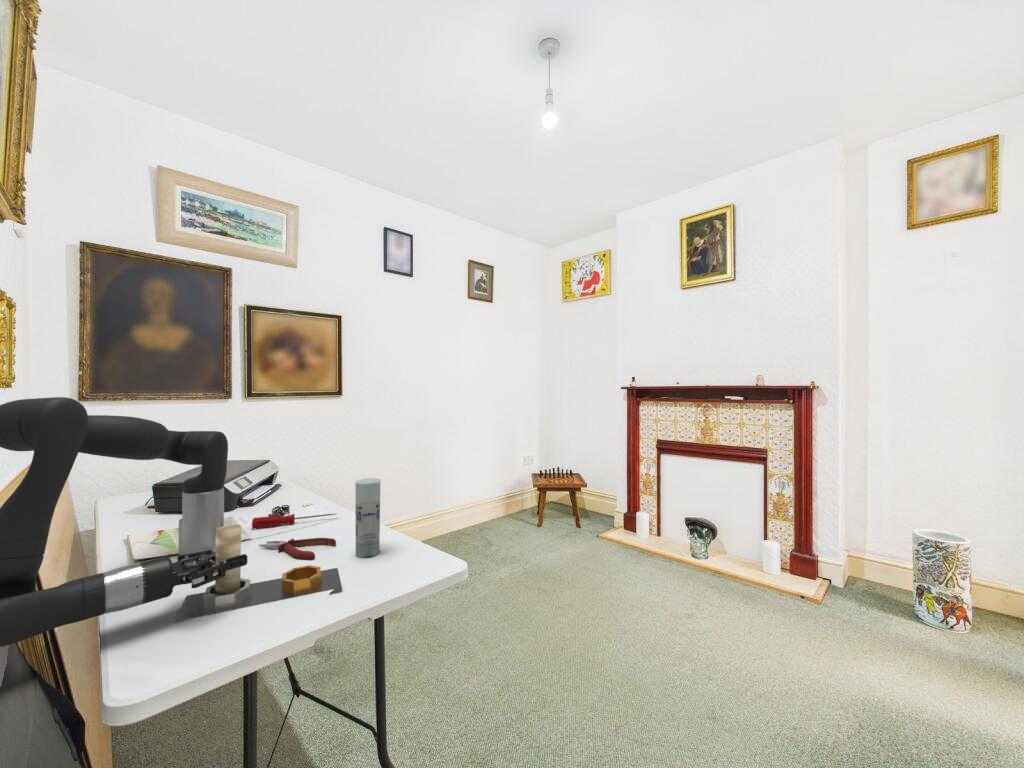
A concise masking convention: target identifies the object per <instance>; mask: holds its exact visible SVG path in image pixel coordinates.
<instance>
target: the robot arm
mask: <svg viewBox="0 0 1024 768" xmlns="http://www.w3.org/2000/svg"><path fill="white" fill-rule="evenodd" d="M0 448H2V449H4V450H8V451H13V452H32V451H33V455H32V459H31V463H30V465H29V467H28V470H27V472H26V473H25V475H24V477H23V478H22V480H21V482H20V483H19V484H18V486H17V487H16V488H15V490H14V491H13V492H12V494H11V495H10V496H9V497H7V499H6V500H5V502H3V504H2V505H1V506H0V646H1V647H0V648H3V647H6V646H10V645H13V644H17V643H19V642H22V641H25V640H27V639H30V638H33V637H35V636H38V635H41V634H44V633H47V632H50V631H52V630H54V629H56V628H57V629H58V628H59V627H62V626H66V625H70V624H75V623H78V622H82V621H87V620H89V619H92V618H95V617H98V616H99V617H100V616H102V615H106V614H111V613H115V612H120V611H124V610H129V609H132V608H134V607H138V606H142V605H146V604H147V603H153V602H155V601H158V600H162V599H165V598H168V597H170V596H171V595H172V594H173V591H174V590H173V589H174V588H175V587H176V586H181V585H190V584H191V588H192V589H197V588H199V587H202V586H204V585H207V584H208V583H212V582H215V580H217V579H219V578H222V577H224V576H225V573H226V572H227V570H231V569H234V568H238V567H244V566H246V565H247V564H248V555H247V554H246V553H243V554H241V555H239V556H235V557H232V558H228V559H223V560H218V561H216V529H217V528H220V527H223V526H225V481H226V477H227V470H228V469H227V467H228V455H229V454H228V453H229V442H228V439H227V436H226V434H225V433H224V432H221V431H215V430H189V431H178V430H169V429H168V428H167V427H166V426H165V425H164V424H162V423H160V422H157V421H155V420H150V419H147V418H141V417H134V416H128V415H127V416H126V415H125V416H124V415H109V414H108V415H105V414H104V415H102V414H101V415H99V414H98V415H97V414H94V415H93V414H92V415H91V414H90V415H89V414H88V412H87V410H86V408H85V406H84V405H83V404H82V403H81V402H79V401H78V400H76V399H73V398H71V397H66V396H65V397H64V396H59V397H58V396H56V397H55V396H54V397H53V396H52V397H39V398H37V397H36V398H24V399H16V400H12V401H7V402H6V403H2V404H0ZM79 453H80V454H86V455H91V456H98V457H106V458H113V459H114V458H115V459H121V460H134V461H136V460H137V461H152V460H165V461H166V460H167V461H169V462H174V463H178V464H181V465H182V464H183V465H188V466H201V470H200V473H199V474H198V475H195V476H192V477H190V478H187V479H185V480H184V481H183V482H182V489H181V490H182V491H181V492H182V493H181V494H182V495H181V496H182V497H181V498H182V500H181V502H182V504H181V505H182V509H181V510H182V511H181V514H182V515H181V517H182V518H180V519H179V520H178V555H177V561H175V562H174V561H173V562H172V559H171V558H170V556H168V555H166V556H161V557H157V558H152V559H148V560H145V561H140V562H136V563H135V562H134V563H132V564H127V565H123V566H120V567H117V568H116V567H115V568H114V569H111V570H108V571H104V572H100V573H96V574H92V575H88V576H84V577H80V578H76V579H73V580H69V581H67V582H64V583H61V584H60V585H58V586H54V587H49V588H46V589H41V590H36V587H37V580H38V579H37V578H38V573H39V570H40V569H41V566H42V564H43V560H44V557H45V553H46V547H47V545H48V544H47V542H48V538H49V534H50V529H51V525H52V521H53V517H54V513H55V511H56V507H57V504H58V502H59V499H60V497H61V495H62V491H63V489H64V487H65V485H66V483H67V481H68V479H69V476H70V474H71V471H72V469H73V466H74V464H75V461H76V458H77V457H78V455H79ZM217 569H218V570H217Z"/></svg>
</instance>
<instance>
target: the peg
mask: <svg viewBox="0 0 1024 768" xmlns="http://www.w3.org/2000/svg"><path fill="white" fill-rule="evenodd" d="M241 530H242V525H240V524H226V525H224V526H223V527H220V528H217V529H216V561H218V560H223V559H228V558H232V557H235V556H239V555H242V545H241V544H242V541H241V540H242V531H241ZM241 567H242V566H241ZM241 567H238V568H234V569H231V570H227V572H226V573H225V576H224V577H222V578H219V579H217V580H214V582H215V583H214V584H215V595H222V594H227V593H232V592H235V591H237V590H239V589H240V578H241ZM217 570H218V569H217Z"/></svg>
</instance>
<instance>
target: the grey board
mask: <svg viewBox="0 0 1024 768" xmlns="http://www.w3.org/2000/svg"><path fill="white" fill-rule="evenodd" d="M281 575H282V577H281V578H274V579H270V580H264V581H260V582H259V581H257V582H253V583H251V579H248V578H244V577H243V578H242V577H240V589H239V590H237V591H235V592H232V593H227V594H222V595H215V583H214V584H212V585H210V586H207V587H206V588H205V591H204V592H199V593H194V594H190V595H189V594H188V595H186V596H185V598H184V600H183V602H182V604H181V606H180V608H179V610H178V612H177V614H176V617H175V618H174V620H173V623H176V622H181V621H186V620H190V619H195V618H196V619H197V618H200V617H201V618H202V617H205V616H211V615H215V614H219V613H225V612H229V611H231V612H232V611H235V610H240V609H243V608H244V609H245V608H249V607H254V606H255V607H256V606H259V605H264V604H269V603H273V602H274V603H275V602H279V601H284V600H290V599H292V598H298V597H303V596H308V595H312V594H317V593H321V592H328V591H330V593H329V595H333V594H337V593H342V592H343V586H342V582H341V577H340V573H339V568H338V567H335V568H330V569H325V570H324V569H323V570H322V569H321V566H316V565H304V566H298V567H293V568H292V569H289V570H288V571H286V572H284V573H282V574H281Z"/></svg>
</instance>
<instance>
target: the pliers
mask: <svg viewBox="0 0 1024 768" xmlns="http://www.w3.org/2000/svg"><path fill="white" fill-rule="evenodd" d="M265 542H266V543H263V544H262V543H261V544H258V547H261V548H265V549H269V550H276V551H277V552H278V553H280V552H281V553H286V554H287V555H288V556H290V557H292V558H293V559H296V560H298V559H299V560H298V561H314V560H315V559H316V554H315V552H313V551H311V550H301V549H298V548H306V546H307V547H316V546H327V547H336V544H337V541H336V539H335V538H330V537H314V538H301V539H295V538H294V537H293V538H291V539H289V540H287V541H285V540H273V541H271V540H270V541H268V540H267V541H265ZM295 547H298V548H295Z"/></svg>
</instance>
